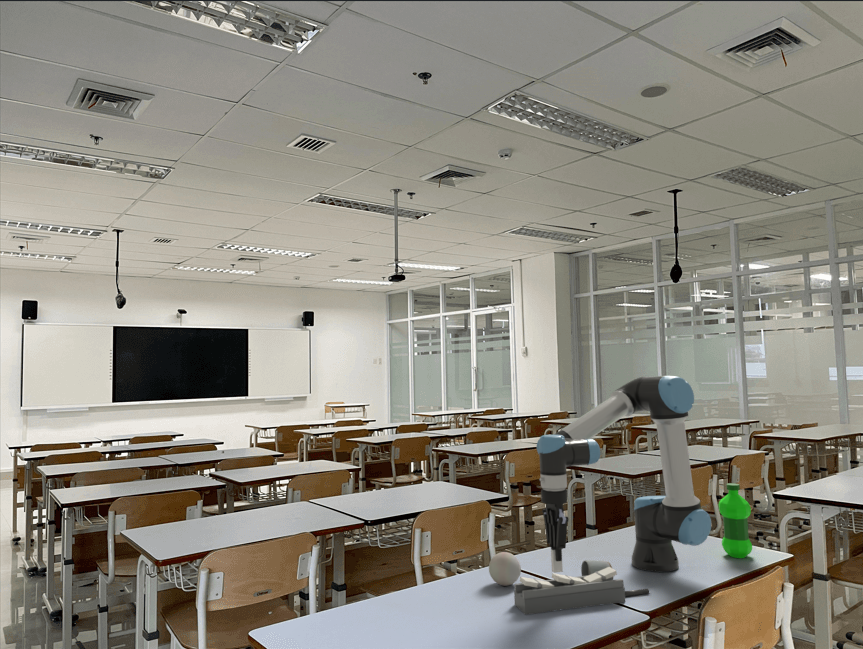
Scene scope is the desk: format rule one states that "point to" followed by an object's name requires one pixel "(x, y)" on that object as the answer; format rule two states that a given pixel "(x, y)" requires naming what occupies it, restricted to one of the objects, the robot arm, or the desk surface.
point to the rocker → (600, 575)
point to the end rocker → (535, 583)
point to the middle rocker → (567, 579)
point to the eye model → (504, 568)
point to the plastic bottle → (735, 523)
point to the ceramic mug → (593, 566)
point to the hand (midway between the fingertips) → (557, 571)
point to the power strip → (571, 595)
